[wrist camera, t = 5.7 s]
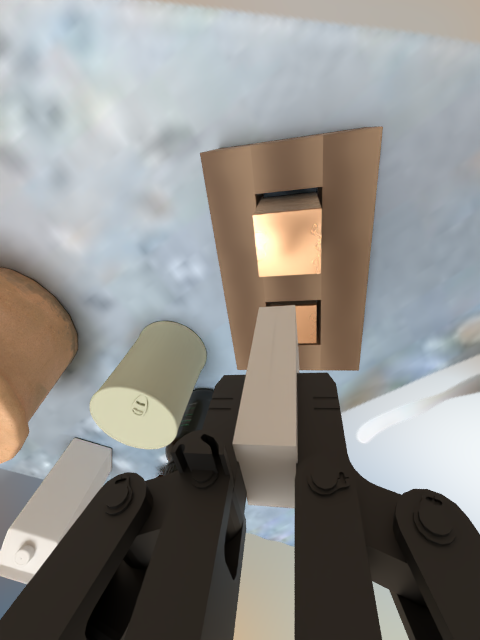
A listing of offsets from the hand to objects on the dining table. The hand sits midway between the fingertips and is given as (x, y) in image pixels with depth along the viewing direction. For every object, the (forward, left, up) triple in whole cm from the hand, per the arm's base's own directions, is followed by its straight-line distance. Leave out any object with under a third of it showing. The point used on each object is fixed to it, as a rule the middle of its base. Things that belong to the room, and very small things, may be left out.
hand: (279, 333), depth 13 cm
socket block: (0, +3, -19) cm, 19 cm away
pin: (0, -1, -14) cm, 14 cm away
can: (+16, +15, -19) cm, 29 cm away
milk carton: (+38, +39, -19) cm, 57 cm away
